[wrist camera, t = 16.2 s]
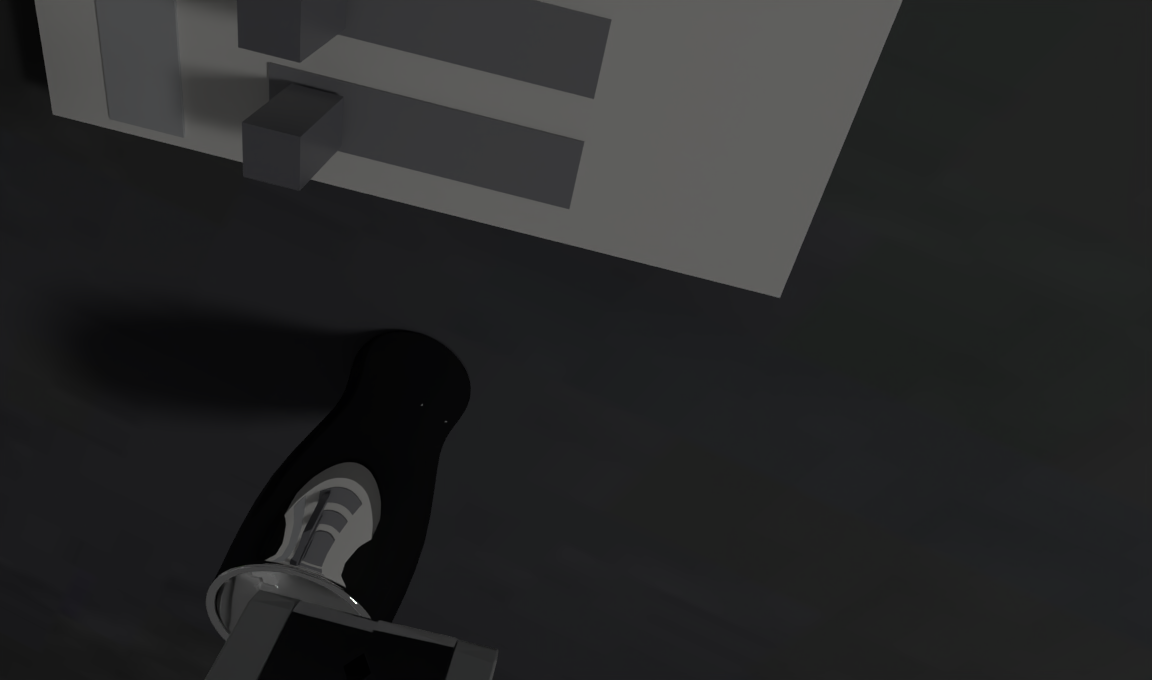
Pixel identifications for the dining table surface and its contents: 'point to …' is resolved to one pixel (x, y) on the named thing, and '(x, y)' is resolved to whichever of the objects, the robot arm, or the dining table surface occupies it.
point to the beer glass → (352, 490)
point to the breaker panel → (511, 111)
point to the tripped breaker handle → (289, 26)
